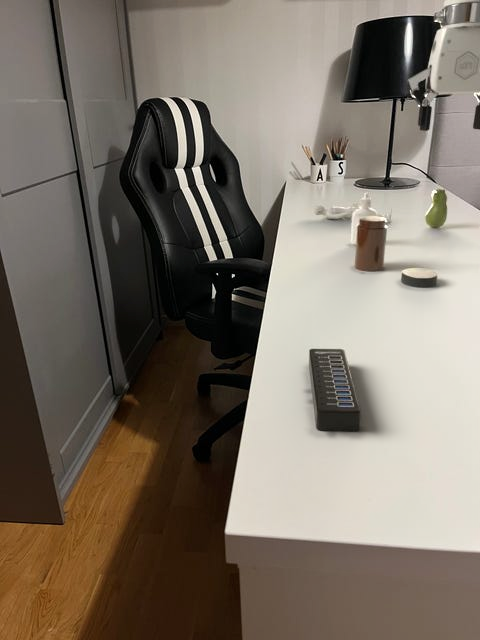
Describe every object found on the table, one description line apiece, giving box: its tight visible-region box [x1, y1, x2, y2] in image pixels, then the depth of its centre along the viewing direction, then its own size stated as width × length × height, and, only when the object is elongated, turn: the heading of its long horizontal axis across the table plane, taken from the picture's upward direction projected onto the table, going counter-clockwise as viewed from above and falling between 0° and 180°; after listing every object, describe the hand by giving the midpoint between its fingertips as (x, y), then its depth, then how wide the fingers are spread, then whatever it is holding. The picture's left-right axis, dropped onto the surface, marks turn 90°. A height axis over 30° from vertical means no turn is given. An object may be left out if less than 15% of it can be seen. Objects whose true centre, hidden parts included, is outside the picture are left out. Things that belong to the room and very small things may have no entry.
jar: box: [353, 216, 388, 272], centre depth 101 cm, size 6×6×10 cm
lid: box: [400, 267, 438, 288], centre depth 93 cm, size 6×6×2 cm
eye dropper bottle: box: [350, 192, 378, 246], centre depth 118 cm, size 4×6×12 cm
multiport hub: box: [308, 348, 362, 432], centre depth 57 cm, size 4×14×2 cm, turn 176°
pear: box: [424, 188, 448, 228], centre depth 133 cm, size 6×5×10 cm
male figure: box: [313, 203, 393, 224], centre depth 145 cm, size 10×4×22 cm
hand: (451, 129), depth 90 cm, fingers open, 9 cm apart
